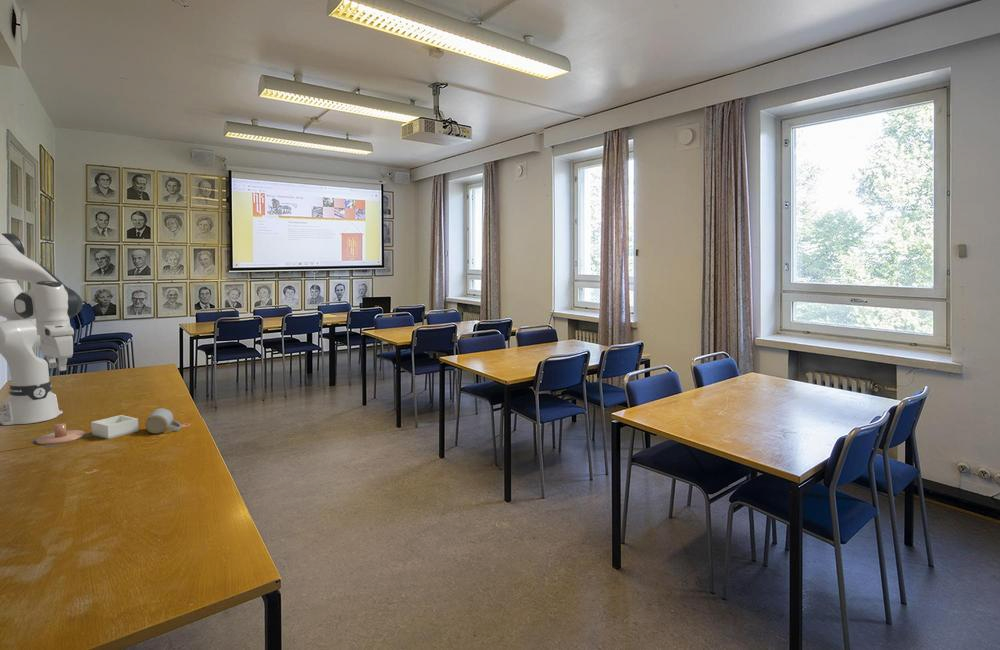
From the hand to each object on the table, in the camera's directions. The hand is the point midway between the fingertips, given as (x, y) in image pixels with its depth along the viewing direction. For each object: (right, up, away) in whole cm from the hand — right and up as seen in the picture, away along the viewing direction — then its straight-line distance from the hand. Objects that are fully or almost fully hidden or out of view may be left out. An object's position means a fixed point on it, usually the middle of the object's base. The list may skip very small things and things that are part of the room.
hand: (57, 369), depth 182 cm
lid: (0, -24, +2) cm, 24 cm away
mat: (0, -24, +2) cm, 24 cm away
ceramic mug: (+28, -24, +13) cm, 39 cm away
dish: (+14, -24, +8) cm, 29 cm away
